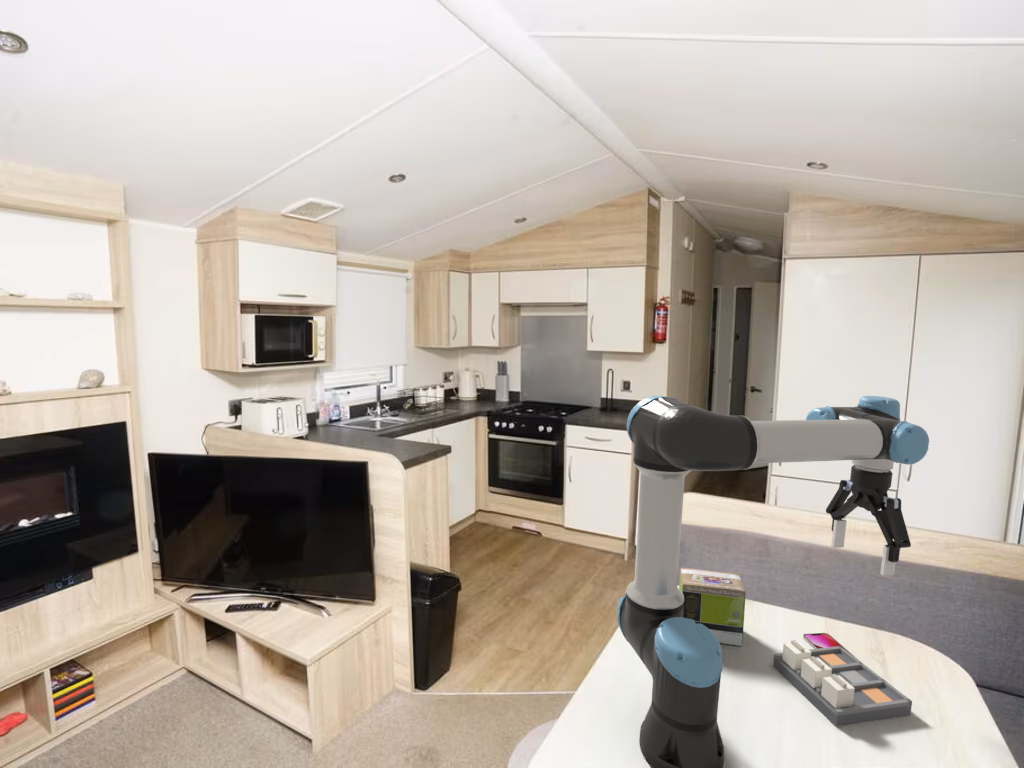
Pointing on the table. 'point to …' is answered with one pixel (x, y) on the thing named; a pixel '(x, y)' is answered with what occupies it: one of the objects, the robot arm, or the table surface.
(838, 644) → the smartphone
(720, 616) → the tea box
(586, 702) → the table surface
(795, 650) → the tab
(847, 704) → the tab
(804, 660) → the tab
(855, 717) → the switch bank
